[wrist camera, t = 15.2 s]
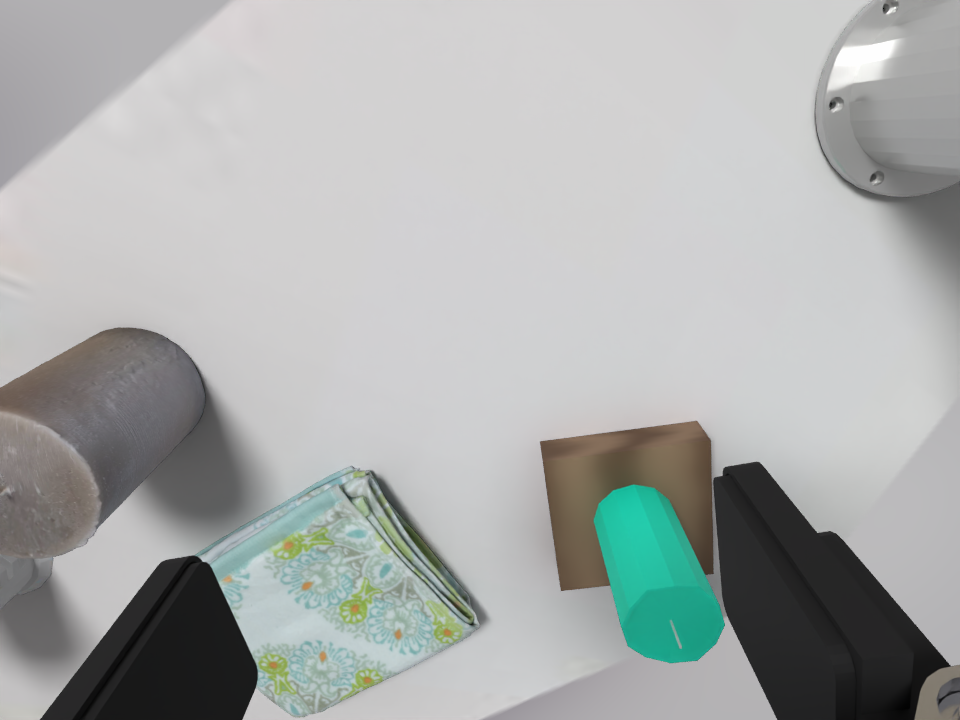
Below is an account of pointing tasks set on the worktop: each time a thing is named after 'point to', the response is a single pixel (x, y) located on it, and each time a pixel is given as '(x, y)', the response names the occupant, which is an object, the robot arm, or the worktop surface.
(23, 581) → the french press
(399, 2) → the worktop surface
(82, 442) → the pillar candle
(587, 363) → the worktop surface
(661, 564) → the candle
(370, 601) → the towel
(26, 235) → the worktop surface
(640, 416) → the worktop surface
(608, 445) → the walnut base
